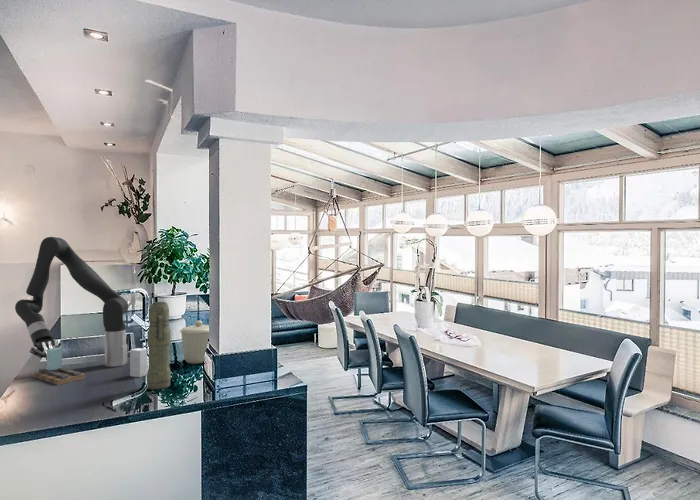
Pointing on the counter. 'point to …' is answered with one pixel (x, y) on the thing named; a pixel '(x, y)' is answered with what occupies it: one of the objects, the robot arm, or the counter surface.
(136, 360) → the skincare box
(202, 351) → the canister
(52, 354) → the fader tab
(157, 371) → the thermos
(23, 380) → the counter surface
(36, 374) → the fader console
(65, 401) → the counter surface
